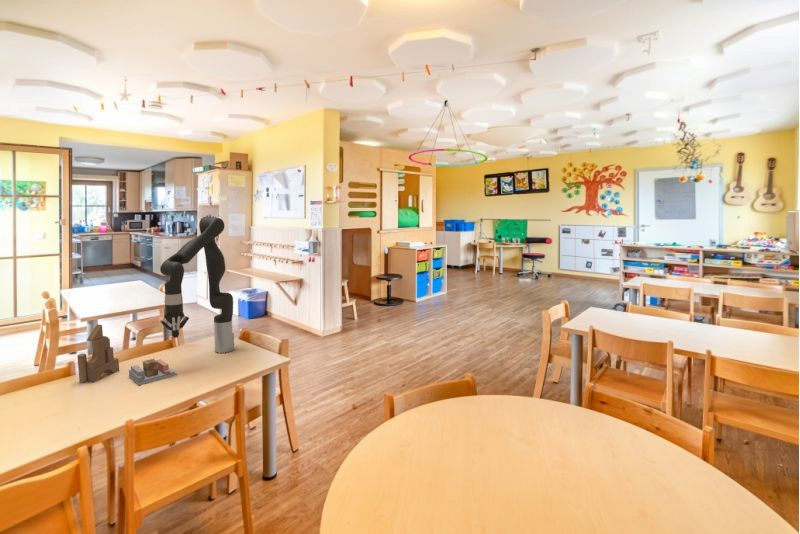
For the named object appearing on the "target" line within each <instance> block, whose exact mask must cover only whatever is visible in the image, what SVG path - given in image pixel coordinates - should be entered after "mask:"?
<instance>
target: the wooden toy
mask: <svg viewBox="0 0 800 534" xmlns="http://www.w3.org/2000/svg"><path fill="white" fill-rule="evenodd" d="M86 341H87V342H91V346H92V356H91V358H90V359H89V360H88V357H87V354H86V353H79V354H78V355H77V367H78V369H77V370H78V380H79V383H80V384H84V383H87V382H89V383H95V382H98V381H100V380H102V375H103V374H115V373H117V372H120V362H119V361H120V360H119V357H114V356H115V355H114V347H113V346H111V341H110V338H109V337H108V336H107V335H104V332H103V325H102V324H96V325H95V327H94V328H93V329H92V331H91V333H90V334H89V336H88V337H87V339H86Z"/></svg>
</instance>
